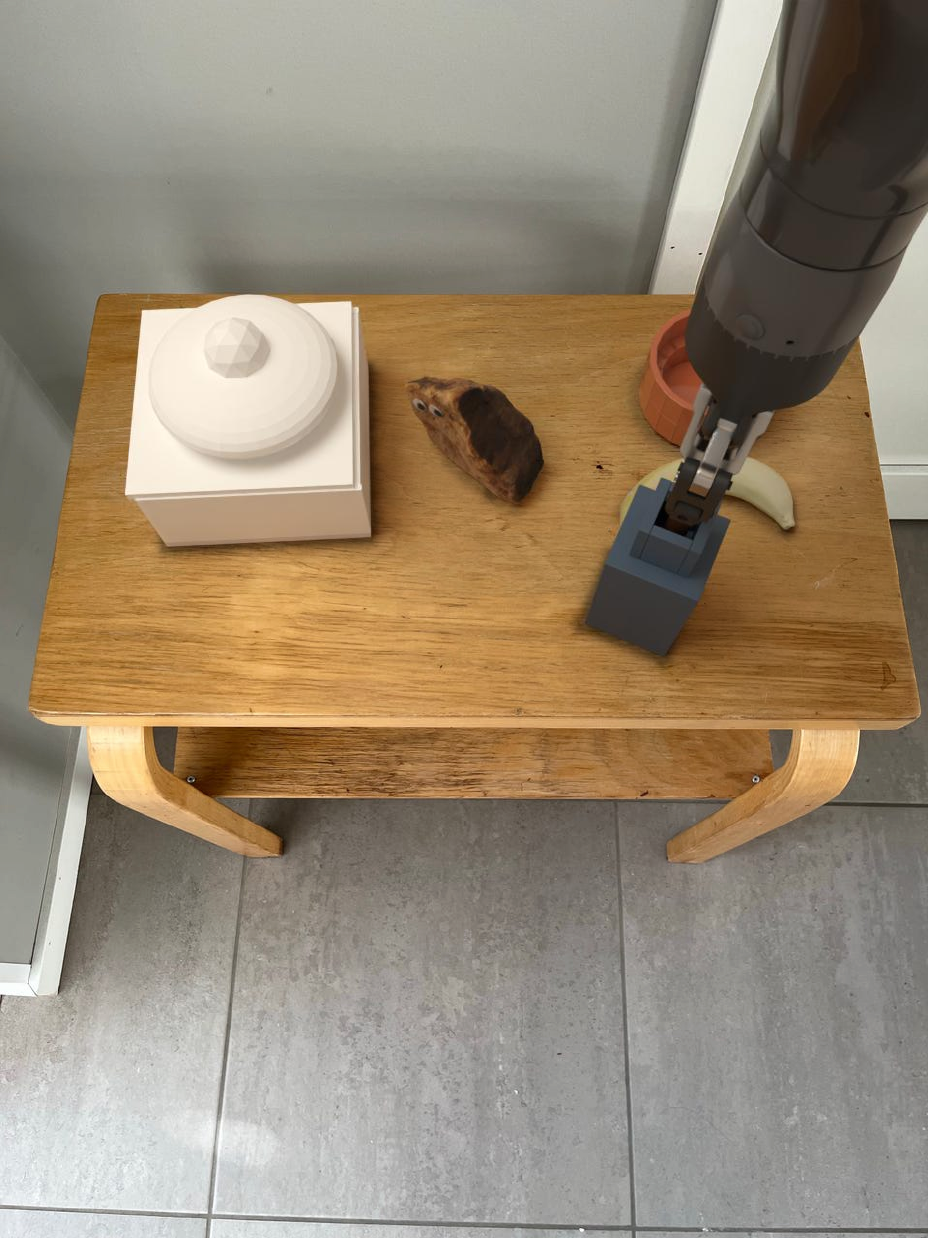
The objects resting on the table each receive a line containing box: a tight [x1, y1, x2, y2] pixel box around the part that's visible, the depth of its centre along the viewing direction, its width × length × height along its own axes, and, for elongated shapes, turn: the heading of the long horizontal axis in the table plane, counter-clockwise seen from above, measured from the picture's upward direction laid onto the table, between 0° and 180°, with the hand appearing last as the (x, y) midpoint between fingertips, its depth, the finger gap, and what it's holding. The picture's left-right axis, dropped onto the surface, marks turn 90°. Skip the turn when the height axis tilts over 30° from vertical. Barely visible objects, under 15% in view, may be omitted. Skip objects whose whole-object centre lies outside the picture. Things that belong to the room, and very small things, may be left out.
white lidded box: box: [124, 294, 372, 548], centre depth 74 cm, size 18×18×16 cm
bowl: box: [638, 308, 708, 447], centre depth 80 cm, size 11×11×6 cm
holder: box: [583, 477, 731, 657], centre depth 68 cm, size 7×7×16 cm
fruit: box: [618, 456, 796, 530], centre depth 78 cm, size 7×15×3 cm, turn 95°
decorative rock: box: [404, 375, 545, 505], centre depth 76 cm, size 12×6×11 cm, turn 52°
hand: (699, 475), depth 56 cm, fingers open, 5 cm apart
